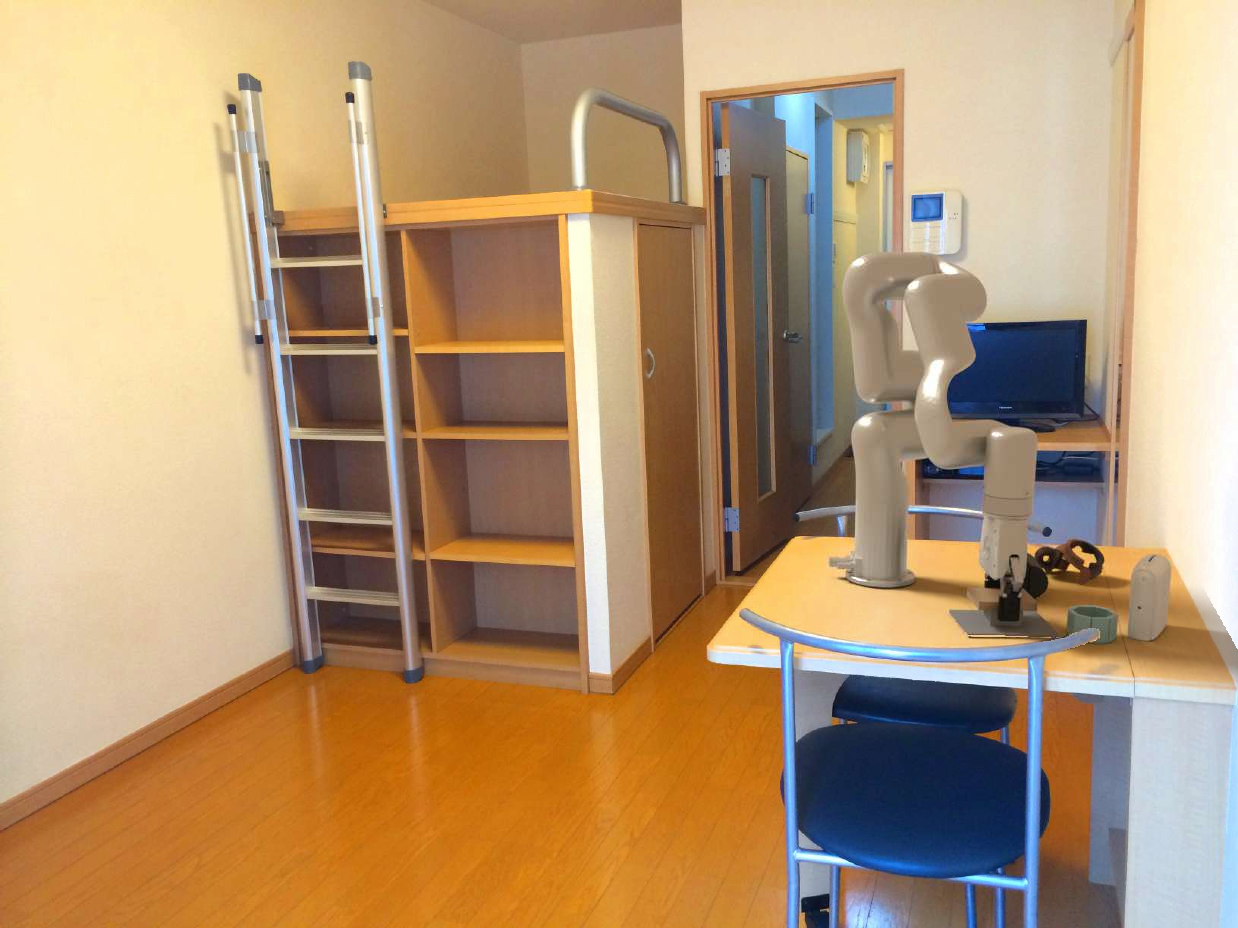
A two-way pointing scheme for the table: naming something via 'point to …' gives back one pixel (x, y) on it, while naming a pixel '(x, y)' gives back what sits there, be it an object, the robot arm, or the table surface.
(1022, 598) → the walnut board
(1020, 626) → the rubber mat
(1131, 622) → the photo printer
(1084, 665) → the table surface
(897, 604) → the table surface
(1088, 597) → the table surface
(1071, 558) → the brown piece
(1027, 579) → the end cap
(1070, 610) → the ceramic bowl
